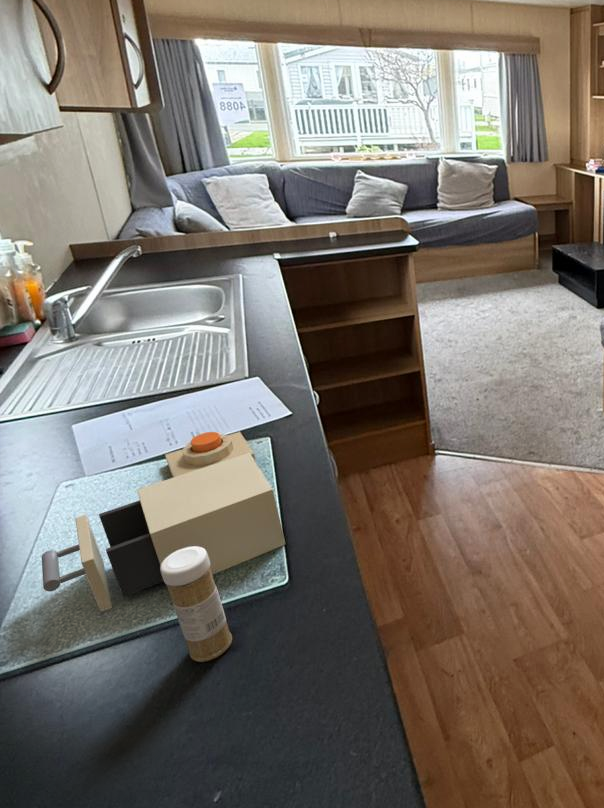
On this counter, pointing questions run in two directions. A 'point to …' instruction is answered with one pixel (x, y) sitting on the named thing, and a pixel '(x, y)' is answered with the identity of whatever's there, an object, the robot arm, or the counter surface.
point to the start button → (206, 442)
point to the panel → (207, 455)
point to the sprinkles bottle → (196, 602)
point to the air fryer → (214, 513)
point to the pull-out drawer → (110, 555)
